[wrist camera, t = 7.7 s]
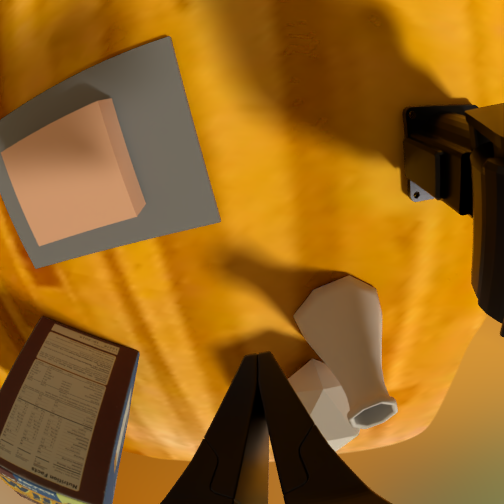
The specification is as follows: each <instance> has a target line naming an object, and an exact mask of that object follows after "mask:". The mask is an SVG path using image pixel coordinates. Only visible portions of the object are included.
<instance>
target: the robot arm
mask: <svg viewBox="0 0 504 504" xmlns="http://www.w3.org/2000/svg"><path fill="white" fill-rule="evenodd" d="M410 111H412V113H413V116H412V117H411V118H410V117H409V113H410ZM403 121H404V131H405V139H404V141H403V146H404V160H405V176H406V177H407V178H408V197H409V198H410V199H411V200H412V201H414V202H418V201H423V200H429V199H434V198H435V199H437V200H442V201H443V202H444V203H446V204H447V205H448V206H450V207H451V208H452V209H454V210H455V211H456V212H457V213H459V214H460V215H467V214H468V215H469V216H470V217H471V218H473V253H472V271H471V284H472V286H473V289H474V291H475V294H476V296H477V298H478V305H479V306H480V307H481V308H482V309H483V310H484V311H485V313H486V314H488V315H489V316H491V317H492V318H494V319H495V320H497V321H498V322H500V323H502V327H501V331H500V335H501V336H502V337H504V103H501V104H496V105H491V106H486V107H481V108H478V107H477V106H476V105H472V104H453V105H425V106H409V107H406V108H405V109H404V111H403ZM415 192H417V195H416V196H414V193H415ZM269 436H270V441H271V445H272V450H273V454H274V458H275V462H276V467H277V471H278V476H279V480H280V484H281V488H282V492H283V495H284V501H285V504H392V503H390V502H389V501H387V500H386V499H384V498H382V497H381V496H379V495H378V494H376V493H375V492H374V491H372V490H371V489H370V488H369V487H368V486H367V485H366V484H365V483H363V482H362V481H361V479H359V477H358V476H357V475H356V474H355V473H354V472H353V471H352V470H351V469H350V468H349V467H348V466H347V465H346V464H345V462H344V461H343V460H342V459H341V458H340V457H339V456H338V455H337V453H336V452H335V451H334V450H333V449H332V447H331V446H330V445H329V444H328V442H327V441H326V439H325V438H324V436H323V435H322V434H321V432H320V430H319V429H318V427H317V426H316V425H315V423H314V421H313V420H312V418H311V416H310V415H309V413H308V412H307V410H306V408H305V407H304V405H303V404H302V402H301V400H300V399H299V397H298V396H297V394H296V392H295V391H294V389H293V387H292V386H291V384H290V383H289V381H288V379H287V378H286V376H285V374H284V373H283V371H282V369H281V368H280V366H279V364H278V363H277V361H276V359H275V358H274V356H273V354H272V353H271V352H270V351H266V352H261V353H259V354H256V353H255V354H249V355H245V356H244V358H243V360H242V362H241V364H240V366H239V368H238V370H237V373H236V375H235V377H234V379H233V381H232V383H231V385H230V387H229V389H228V391H227V393H226V395H225V397H224V399H223V401H222V403H221V405H220V407H219V409H218V411H217V413H216V415H215V417H214V419H213V421H212V423H211V425H210V427H209V429H208V431H207V433H206V435H205V437H204V438H205V439H203V440H202V442H201V444H200V446H199V448H198V450H197V452H196V453H195V455H194V457H193V459H192V460H191V462H190V463H189V465H188V466H187V468H186V469H185V471H184V472H183V474H182V475H181V476H180V478H179V479H178V481H177V482H176V484H175V485H174V486H173V487H172V489H171V490H170V492H169V493H168V494H167V496H166V497H165V498H164V500H163V501H162V502H161V503H160V504H268V470H269V469H268V467H269Z"/></svg>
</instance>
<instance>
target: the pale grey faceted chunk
mask: <svg viewBox="0 0 504 504" xmlns="http://www.w3.org/2000/svg"><path fill="white" fill-rule="evenodd" d="M288 381H289V383H290V384H291V386H292V387H293V389H294V391H295V392H296V394H297V396H298V397H299V399H300V400H301V402H302V404H303V405H304V407H305V408H306V410H307V412H308V413H309V415H310V416H311V418H312V420H313V421H314V423H315V425H316V426H317V427H318V429H319V430H320V432H321V434H322V435H323V436H324V438H325V439H326V441H327V442H328V444H329V445H330V446H331V447H332V449H333V450H334V451H335V452H336V451H337V450H339V449H340V448H341V447H343V446H344V445H346V444H347V443H348V442H350V441H351V440H352V439H354V438H355V437H356V436H358V435H359V431H360V428H352V427H351V425H350V423H349V421H348V418H347V413H348V412H349V411H350V407H349V403H348V400H347V396H346V394H345V392H344V390H343V388H342V386H341V384H340V382H339V381H338V380H337V378H336V377H335V376H334V374H333V373H332V372H331V370H330V369H329V368H328V367H327V365H326V364H325V363H322V362H320V361H318V360H315V359H313V358H312V359H311V360H310V361H309V362H308V363H306V364H305V365H304V366H303V367H302V368H301V369H299V370H298V371H297V372H296V373H294V374H293V375H292V376H291V377H290V378H288Z"/></svg>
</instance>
